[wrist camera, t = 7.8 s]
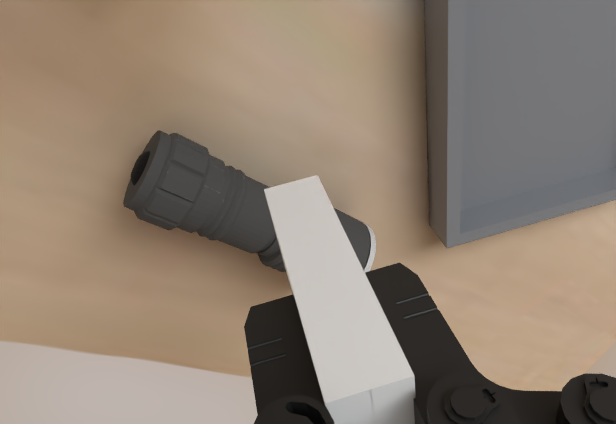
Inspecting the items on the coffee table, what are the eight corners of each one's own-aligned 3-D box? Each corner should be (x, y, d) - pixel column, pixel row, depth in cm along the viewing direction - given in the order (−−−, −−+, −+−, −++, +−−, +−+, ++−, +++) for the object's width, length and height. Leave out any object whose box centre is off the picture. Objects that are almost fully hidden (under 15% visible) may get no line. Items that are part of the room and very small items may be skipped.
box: (419, -220, 22) (449, -233, 19) (769, -290, 23) (837, -310, 21) (429, 224, 37) (446, 248, 35) (639, 165, 39) (670, 183, 36)
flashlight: (148, 121, 29) (110, 203, 29) (162, 123, 24) (117, 222, 24) (345, 216, 36) (315, 282, 36) (387, 232, 31) (352, 309, 31)
